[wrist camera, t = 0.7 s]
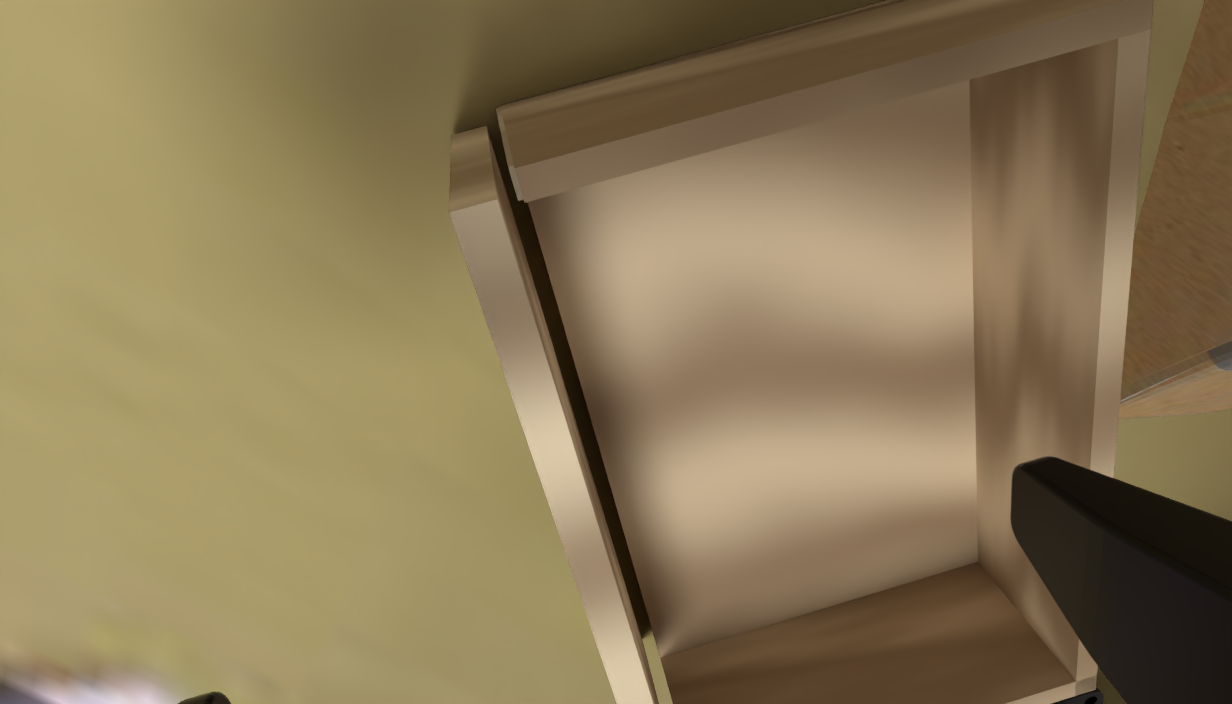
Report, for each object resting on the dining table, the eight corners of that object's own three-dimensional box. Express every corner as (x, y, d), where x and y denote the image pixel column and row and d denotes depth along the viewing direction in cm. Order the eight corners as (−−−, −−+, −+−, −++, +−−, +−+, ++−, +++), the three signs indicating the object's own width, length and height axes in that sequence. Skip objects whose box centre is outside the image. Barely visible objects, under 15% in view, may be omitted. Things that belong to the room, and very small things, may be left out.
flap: (643, 645, 26) (686, 810, 21) (616, 653, 26) (652, 821, 21) (486, 125, 18) (497, 199, 13) (446, 136, 18) (443, 213, 13)
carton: (985, 557, 27) (1095, 689, 23) (657, 657, 27) (699, 813, 22) (978, -24, 19) (1153, -7, 14) (495, 106, 18) (508, 170, 14)
